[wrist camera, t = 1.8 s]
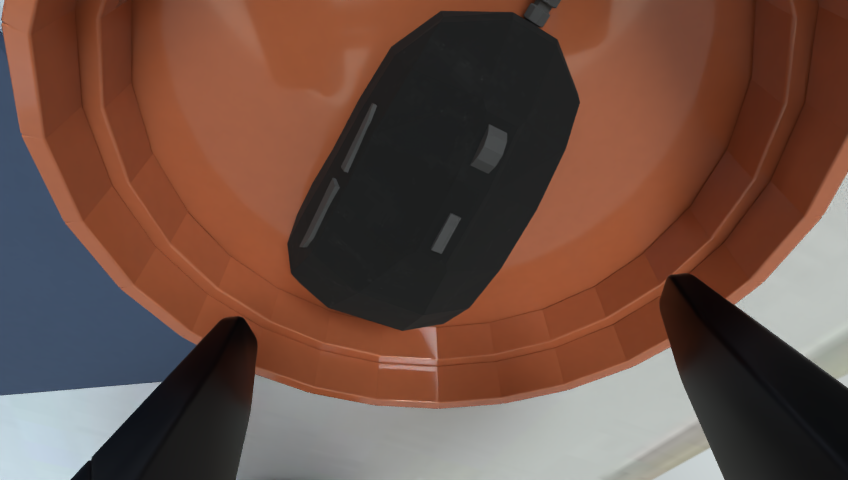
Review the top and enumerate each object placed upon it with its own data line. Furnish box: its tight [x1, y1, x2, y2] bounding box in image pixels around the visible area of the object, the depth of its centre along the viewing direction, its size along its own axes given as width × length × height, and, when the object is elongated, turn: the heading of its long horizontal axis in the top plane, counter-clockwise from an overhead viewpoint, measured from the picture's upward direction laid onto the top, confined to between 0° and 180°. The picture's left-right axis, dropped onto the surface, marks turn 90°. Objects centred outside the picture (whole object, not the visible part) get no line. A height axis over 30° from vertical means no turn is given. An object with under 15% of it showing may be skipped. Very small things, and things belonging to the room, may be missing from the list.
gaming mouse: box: [287, 0, 580, 331], centre depth 13 cm, size 6×15×4 cm, turn 152°
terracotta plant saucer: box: [1, 0, 848, 409], centre depth 14 cm, size 19×19×4 cm
